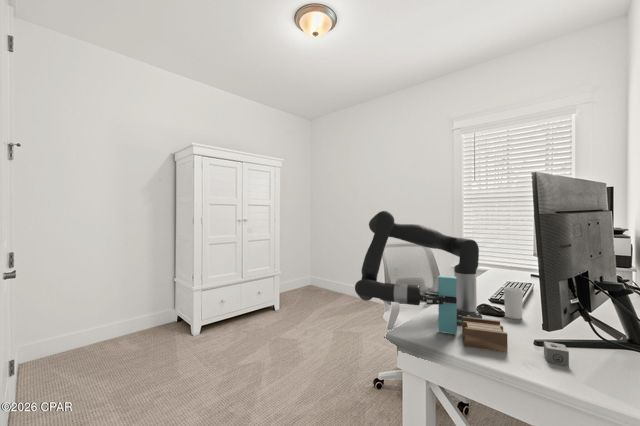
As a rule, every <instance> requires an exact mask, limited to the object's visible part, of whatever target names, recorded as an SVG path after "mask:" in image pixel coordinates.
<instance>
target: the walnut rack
mask: <svg viewBox="0 0 640 426" xmlns="http://www.w3.org/2000/svg"><path fill="white" fill-rule="evenodd" d="M467 323H473V324H481V325H490V326H498V327H500V328H501V329H502V331H503V332H498V331H490V330H483V329H475V328H467ZM461 334H462V339H463V342H464V347H465V348H466V347H467V348H473V349H479V350H484V351H491V352H492V351H493V352H500V353H507V354H508V353H509V352H508V351H509V350H508V332H505V331H504V326H503V325H501V321H500V320H499V319H497V320H496V319H488V318H487V319H486V318H482V319H481V318H472V317H463V316H462V326H461Z"/></svg>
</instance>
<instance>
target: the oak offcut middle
mask: <svg viewBox="0 0 640 426" xmlns="http://www.w3.org/2000/svg"><path fill="white" fill-rule="evenodd" d="M467 325H470V326H478V327H486V328H494V329H501V328H500V327H498V326H490V325H481V324H473V323H467Z"/></svg>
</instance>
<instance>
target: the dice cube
mask: <svg viewBox="0 0 640 426" xmlns="http://www.w3.org/2000/svg"><path fill="white" fill-rule="evenodd" d="M569 354H570V351H569V350H568V348H567V347H566V345H565V344H562V343H558V342H557V343H556V342H551V341H549V342H548V341H544V340H543V355H544V358H545V360H546V362H547V363H550V364H554V365H555V364H556V365H561V366H566V367H567V369H569V368H570V356H569Z"/></svg>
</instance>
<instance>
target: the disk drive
mask: <svg viewBox="0 0 640 426" xmlns="http://www.w3.org/2000/svg"><path fill="white" fill-rule="evenodd" d="M462 316H463V317H472V318H481V319H483V316H482V313H478V312H464V311H459V310H457V326H460V327H462Z"/></svg>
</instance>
